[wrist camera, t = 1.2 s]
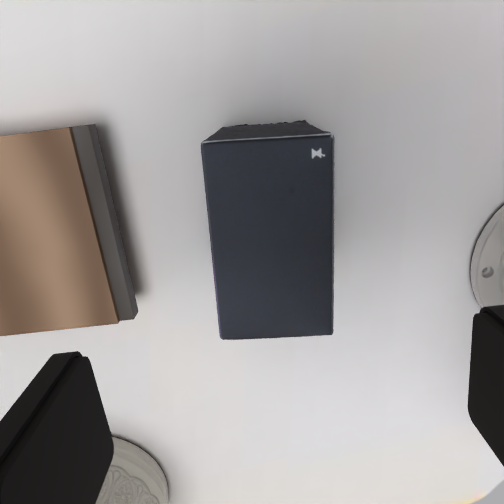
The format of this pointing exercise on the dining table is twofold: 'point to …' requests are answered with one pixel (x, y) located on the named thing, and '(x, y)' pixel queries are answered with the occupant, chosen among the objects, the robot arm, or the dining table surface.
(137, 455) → the jar
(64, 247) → the dock
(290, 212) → the small box
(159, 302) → the dining table surface
